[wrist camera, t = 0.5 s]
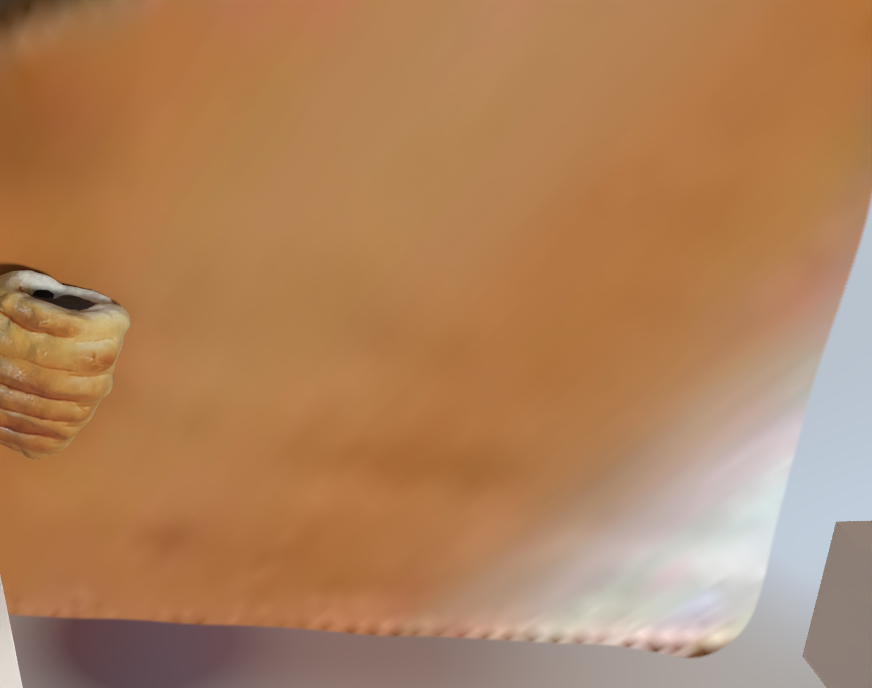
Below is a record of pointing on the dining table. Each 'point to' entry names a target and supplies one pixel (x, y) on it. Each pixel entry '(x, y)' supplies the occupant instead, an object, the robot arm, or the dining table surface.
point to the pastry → (53, 359)
